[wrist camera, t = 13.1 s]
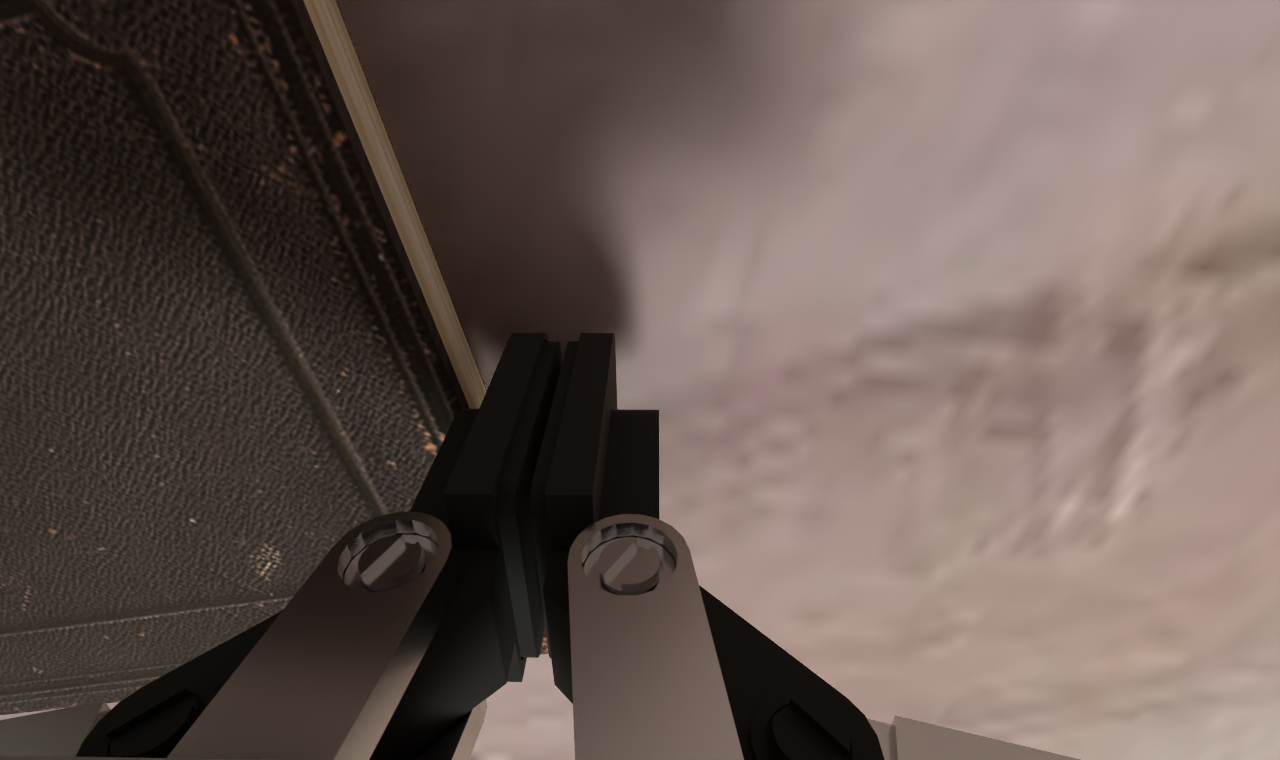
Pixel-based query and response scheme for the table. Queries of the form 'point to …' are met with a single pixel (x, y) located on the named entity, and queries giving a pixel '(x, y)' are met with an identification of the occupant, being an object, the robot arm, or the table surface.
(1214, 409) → the table surface
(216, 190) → the hardcover book
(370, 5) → the table surface
